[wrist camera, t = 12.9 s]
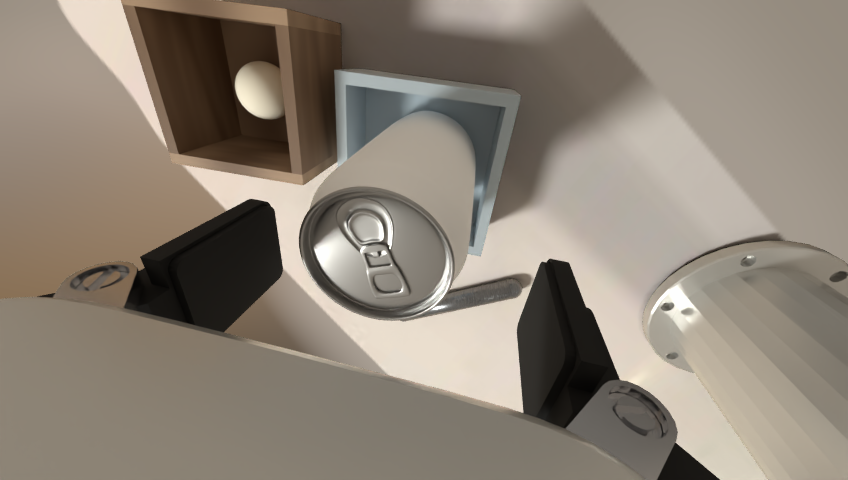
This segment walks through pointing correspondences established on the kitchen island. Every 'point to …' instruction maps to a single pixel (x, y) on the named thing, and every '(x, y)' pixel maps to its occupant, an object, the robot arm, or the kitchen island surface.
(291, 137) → the walnut box
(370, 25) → the kitchen island surface
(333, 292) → the can
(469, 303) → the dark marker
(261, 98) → the cream ball
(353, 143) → the light blue tray
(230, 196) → the kitchen island surface
